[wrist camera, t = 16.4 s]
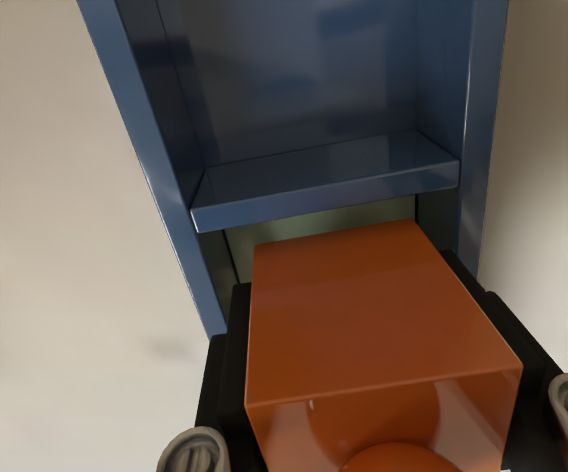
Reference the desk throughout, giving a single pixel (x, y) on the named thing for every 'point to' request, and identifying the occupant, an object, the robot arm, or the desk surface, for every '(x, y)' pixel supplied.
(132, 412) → the desk surface
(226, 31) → the three-compartment dish
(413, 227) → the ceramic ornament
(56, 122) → the desk surface
